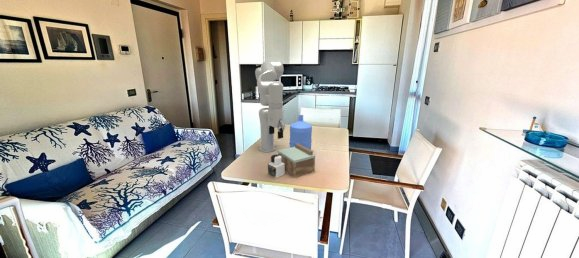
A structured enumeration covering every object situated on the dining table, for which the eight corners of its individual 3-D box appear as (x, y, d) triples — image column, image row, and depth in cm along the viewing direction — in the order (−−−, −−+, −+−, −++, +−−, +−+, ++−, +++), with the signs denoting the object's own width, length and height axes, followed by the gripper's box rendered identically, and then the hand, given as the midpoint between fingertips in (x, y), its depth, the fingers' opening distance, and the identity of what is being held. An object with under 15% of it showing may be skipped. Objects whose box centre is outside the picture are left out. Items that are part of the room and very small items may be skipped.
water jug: (309, 157, 164) (311, 118, 156) (287, 156, 167) (287, 117, 159) (312, 149, 179) (313, 113, 171) (291, 148, 182) (292, 112, 174)
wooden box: (278, 166, 151) (278, 153, 149) (297, 161, 159) (297, 148, 156) (294, 177, 137) (294, 163, 134) (314, 171, 144) (315, 157, 142)
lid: (277, 152, 149) (277, 146, 147) (297, 148, 156) (297, 142, 155) (294, 163, 134) (294, 156, 133) (315, 157, 142) (315, 151, 141)
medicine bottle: (267, 174, 140) (267, 155, 137) (276, 170, 145) (276, 152, 142) (275, 178, 136) (275, 159, 132) (284, 174, 140) (284, 155, 137)
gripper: (262, 104, 134) (263, 133, 138) (277, 109, 120) (277, 141, 124) (273, 102, 138) (274, 131, 142) (290, 107, 124) (290, 138, 128)
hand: (276, 135), depth 133 cm, fingers open, 9 cm apart
